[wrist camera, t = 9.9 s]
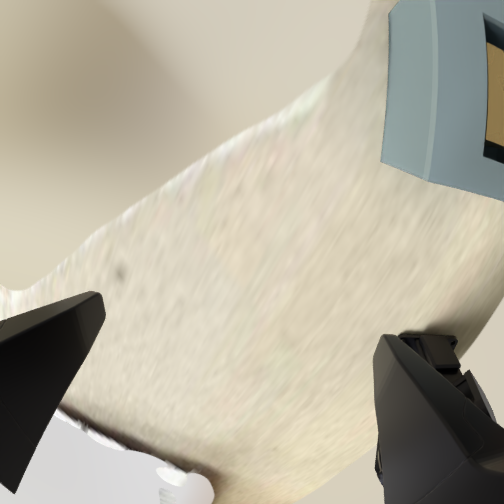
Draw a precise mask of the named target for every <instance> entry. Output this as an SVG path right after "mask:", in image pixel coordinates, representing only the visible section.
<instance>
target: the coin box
mask: <svg viewBox="0 0 504 504" xmlns="http://www.w3.org/2000/svg"><path fill="white" fill-rule="evenodd" d="M486 42H488V43H490V44H492V45H493V46H495V47H497V48H499V49H501V50H503V51H504V0H400V1H399V2H398V3H397V4H396V6H395V7H394V8H393V9H392V11H391V12H390V13H389V64H388V87H387V102H386V115H385V126H384V136H383V145H382V153H381V161H380V162H382V163H385V164H388V165H390V166H393V167H395V168H397V169H400V170H402V171H405V172H407V173H409V174H412V175H414V176H416V177H419V178H421V179H423V180H425V181H428V182H432V183H436V184H440V185H445V186H449V187H453V188H457V189H461V190H465V191H468V192H472V193H476V194H479V195H483V196H486V197H490V198H493V199H497V200H500V201H503V202H504V149H500V148H494V147H489V146H484V141H485V130H486V116H487V51H486Z"/></svg>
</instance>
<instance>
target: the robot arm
mask: <svg viewBox="0 0 504 504" xmlns="http://www.w3.org/2000/svg"><path fill="white" fill-rule="evenodd" d="M105 318H106V312H105V307H104V302H103V297H102V295H101V294H100V293H98V292H94V291H88V292H85V293H82V294H79V295H76V296H73V297H70V298H67V299H64V300H61V301H58V302H55V303H52V304H49V305H46V306H43V307H40V308H37V309H34V310H31V311H28V312H25V313H22V314H19V315H16V316H14V317H11V318H8V319H7V320H6V319H5V320H2V321H0V483H1V484H2V485H3V486H4V487H6V488H7V489H8V490H9V491H11V492H12V493H13V494H15V493H16V491H17V489H18V487H19V484H20V482H21V480H22V477H23V475H24V473H25V471H26V468H27V466H28V464H29V462H30V460H31V458H32V456H33V454H34V452H35V449H36V447H37V445H38V443H39V441H40V439H41V437H42V435H43V433H44V431H45V429H46V428H47V426H48V424H49V422H50V420H51V418H52V416H53V414H54V413H55V411H56V409H57V407H58V405H59V403H60V402H61V400H62V398H63V396H64V394H65V393H66V391H67V389H68V387H69V386H70V384H71V382H72V380H73V379H74V377H75V375H76V374H77V372H78V370H79V369H80V367H81V365H82V364H83V362H84V360H85V359H86V357H87V355H88V353H89V351H90V349H91V347H92V345H93V343H94V341H95V339H96V337H97V335H98V333H99V331H100V329H101V327H102V325H103V323H104V321H105ZM403 339H404V340H403ZM402 340H403V341H402ZM452 341H453V342H452ZM457 342H458V340H457V338H456V337H455V336H444V335H408V334H402V335H399V336H398V337H397V336H396V335H393V334H383V335H382V336H381V337H380V340H379V343H378V345H377V348H376V351H375V353H374V356H373V373H374V400H375V410H376V417H377V425H378V443H377V452H376V460H375V471H376V473H377V476H378V478H379V480H380V482H381V484H382V485H383V487H384V501H385V504H504V428H502V427H501V426H500V425H499V424H497V422H496V419H495V416H494V413H493V410H492V408H491V406H490V404H489V402H488V400H487V398H486V396H485V394H484V392H483V390H482V389H481V387H480V386H479V384H478V382H477V381H476V379H475V378H474V376H473V374H472V373H471V371H470V370H468V371H467V372H465V374H464V375H462V373H461V371H460V369H459V368H460V367H461V365H460V363H459V361H458V359H457V357H456V355H455V353H454V349H455V347H456V345H457Z"/></svg>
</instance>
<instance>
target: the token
mask: <svg viewBox="0 0 504 504" xmlns="http://www.w3.org/2000/svg"><path fill="white" fill-rule="evenodd" d="M486 51H487V116H486V130H485V141H484V146H489V147H494V148H500V149H504V51H503V50H501V49H499V48H497V47H495V46H493V45H492V44H490V43H488V42H486Z"/></svg>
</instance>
